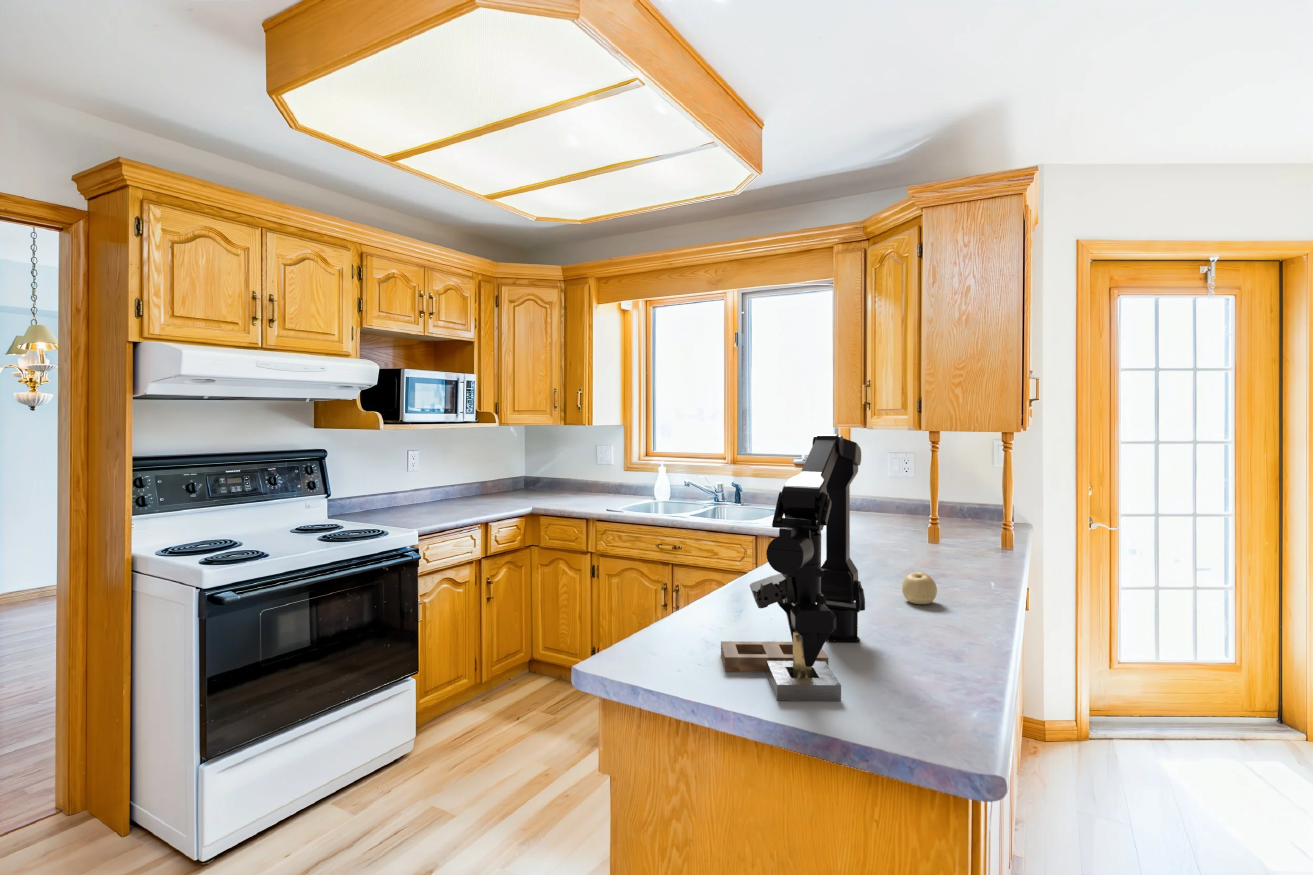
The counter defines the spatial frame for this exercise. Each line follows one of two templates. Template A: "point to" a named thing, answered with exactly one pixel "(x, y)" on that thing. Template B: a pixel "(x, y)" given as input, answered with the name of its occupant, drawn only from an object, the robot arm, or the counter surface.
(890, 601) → the counter surface
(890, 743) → the counter surface
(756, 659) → the rack
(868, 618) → the counter surface
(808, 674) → the peg
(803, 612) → the robot arm
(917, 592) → the apple
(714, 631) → the counter surface
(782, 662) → the socket block
